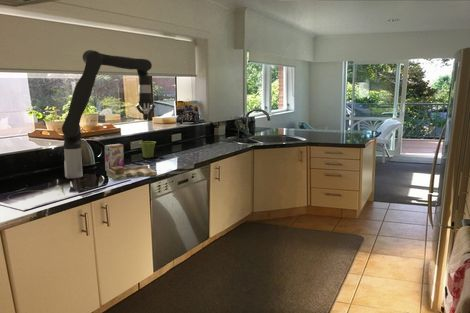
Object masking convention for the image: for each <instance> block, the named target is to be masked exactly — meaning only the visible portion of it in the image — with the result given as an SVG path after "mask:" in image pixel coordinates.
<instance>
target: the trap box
mask: <svg viewBox="0 0 470 313" xmlns="http://www.w3.org/2000/svg"><path fill="white" fill-rule="evenodd" d="M106 169H107V171H106V176H107V177H109V178H110V179H111V178H112V179H111V180H113V181H121V180H128V179H134V178H136V179H137V178H143V177H151V176H157V175H158V174H157V171H156V170H154V169H152V168H149V165H148V164H146V165H139V166H138V165H137V166H128V167H124V173H123V174H116V172H114V171H112V170H111V169H109V168H106Z"/></svg>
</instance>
